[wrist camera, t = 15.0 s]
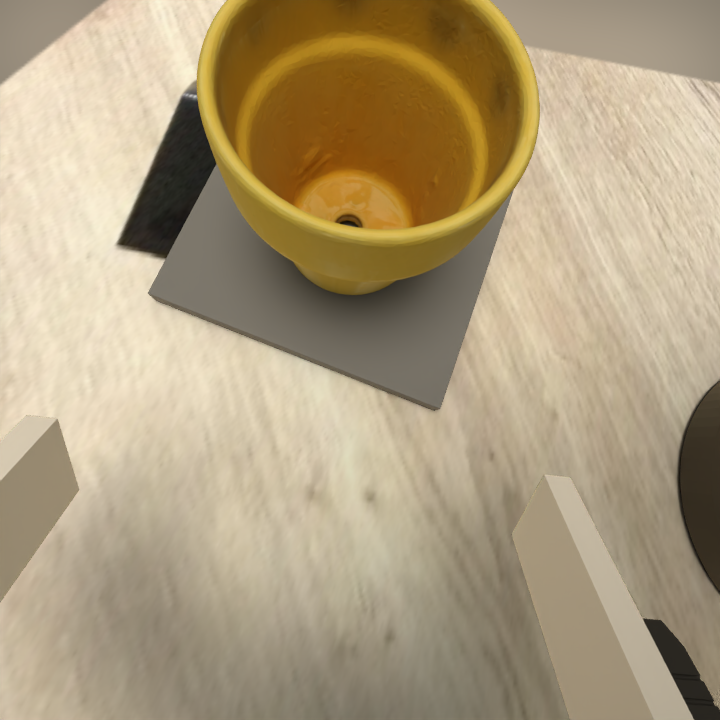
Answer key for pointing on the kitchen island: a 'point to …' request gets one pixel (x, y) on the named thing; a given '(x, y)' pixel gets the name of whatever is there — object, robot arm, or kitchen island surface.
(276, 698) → the kitchen island surface
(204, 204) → the trivet mat
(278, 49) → the plant pot
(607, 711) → the robot arm
